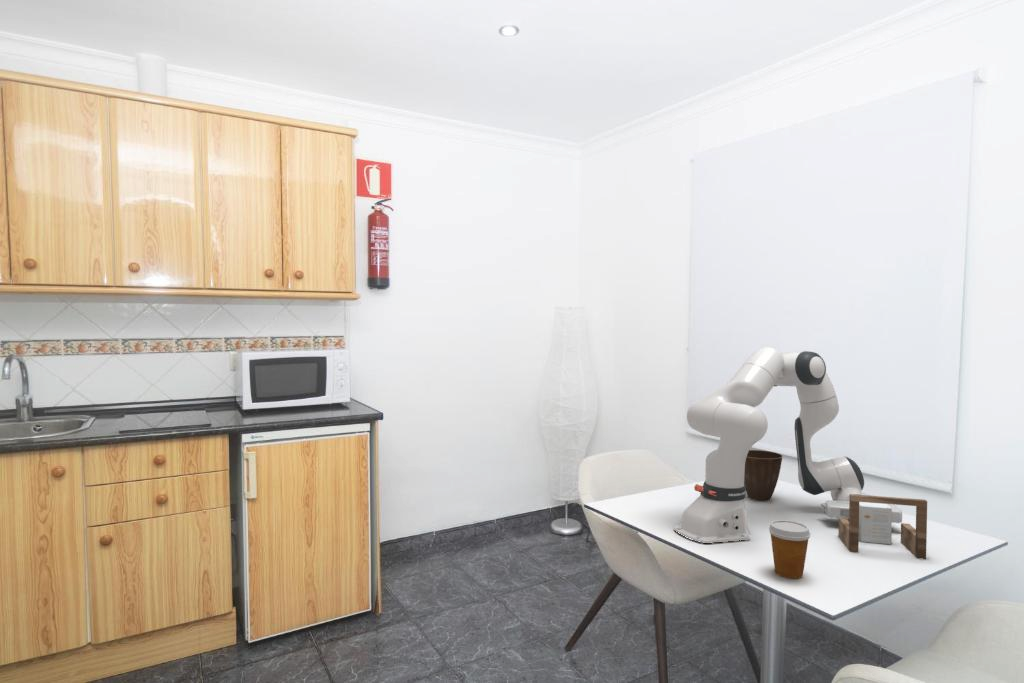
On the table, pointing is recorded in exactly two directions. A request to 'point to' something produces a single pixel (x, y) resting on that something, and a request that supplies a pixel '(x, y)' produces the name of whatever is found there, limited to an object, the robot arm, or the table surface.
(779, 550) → the disposable coffee cup
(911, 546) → the wooden archway
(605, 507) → the table surface
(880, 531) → the small box
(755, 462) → the plant pot
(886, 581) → the table surface
